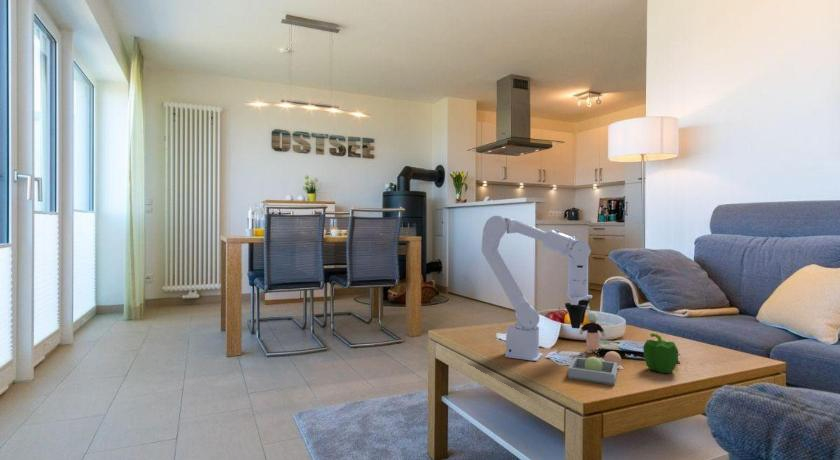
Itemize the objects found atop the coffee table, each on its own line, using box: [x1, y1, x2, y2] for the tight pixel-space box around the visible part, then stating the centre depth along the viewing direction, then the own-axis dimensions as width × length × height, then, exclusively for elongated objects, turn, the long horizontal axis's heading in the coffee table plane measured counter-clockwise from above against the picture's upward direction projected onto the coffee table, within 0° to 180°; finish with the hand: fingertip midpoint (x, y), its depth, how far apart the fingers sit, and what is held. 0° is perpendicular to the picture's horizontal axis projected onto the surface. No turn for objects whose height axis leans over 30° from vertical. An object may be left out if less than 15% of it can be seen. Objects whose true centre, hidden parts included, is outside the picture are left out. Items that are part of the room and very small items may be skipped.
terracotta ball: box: [603, 350, 622, 368], centre depth 127 cm, size 4×4×4 cm
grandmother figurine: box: [578, 311, 607, 354], centre depth 143 cm, size 8×4×13 cm, turn 84°
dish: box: [567, 356, 618, 386], centre depth 119 cm, size 11×11×3 cm
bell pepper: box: [642, 332, 679, 374], centre depth 124 cm, size 8×8×10 cm
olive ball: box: [585, 356, 603, 372], centre depth 119 cm, size 4×4×4 cm
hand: (577, 325), depth 135 cm, fingers open, 7 cm apart
